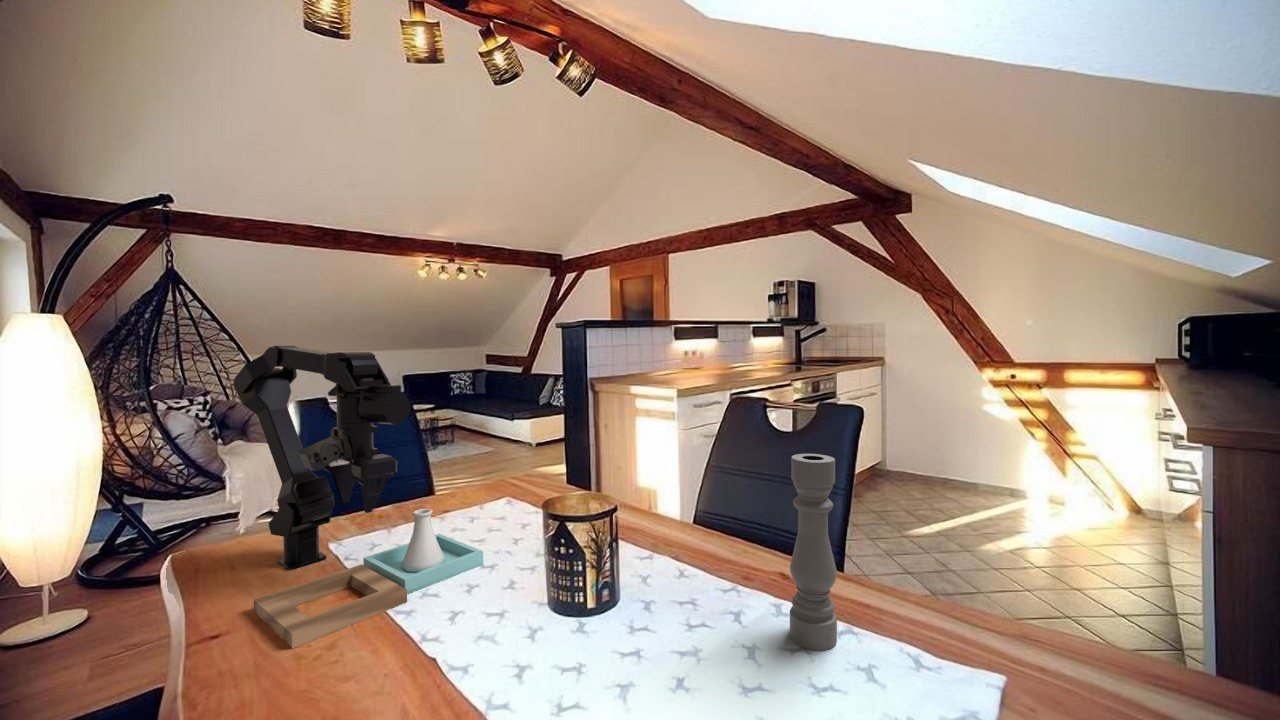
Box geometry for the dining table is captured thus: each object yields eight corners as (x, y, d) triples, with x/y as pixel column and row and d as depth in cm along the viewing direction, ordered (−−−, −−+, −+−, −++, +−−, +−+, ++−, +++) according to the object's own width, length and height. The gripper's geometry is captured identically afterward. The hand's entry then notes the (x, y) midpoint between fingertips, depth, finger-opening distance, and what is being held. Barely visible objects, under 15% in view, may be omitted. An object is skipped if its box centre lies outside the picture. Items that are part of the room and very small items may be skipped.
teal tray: (363, 571, 94) (363, 557, 94) (439, 545, 106) (439, 533, 106) (405, 595, 85) (405, 580, 85) (483, 564, 97) (483, 551, 97)
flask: (393, 569, 94) (391, 514, 93) (424, 554, 100) (423, 503, 100) (422, 576, 91) (421, 520, 90) (453, 560, 97) (452, 508, 97)
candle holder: (813, 655, 67) (813, 465, 67) (780, 632, 73) (779, 456, 72) (847, 642, 70) (847, 459, 70) (812, 621, 76) (812, 451, 75)
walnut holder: (253, 612, 80) (253, 599, 80) (361, 575, 92) (361, 564, 92) (292, 648, 70) (292, 634, 70) (407, 602, 83) (406, 589, 83)
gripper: (284, 421, 92) (285, 508, 93) (328, 433, 81) (330, 531, 81) (349, 415, 101) (351, 494, 102) (398, 424, 90) (399, 513, 90)
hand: (356, 507), depth 93 cm, fingers open, 9 cm apart
